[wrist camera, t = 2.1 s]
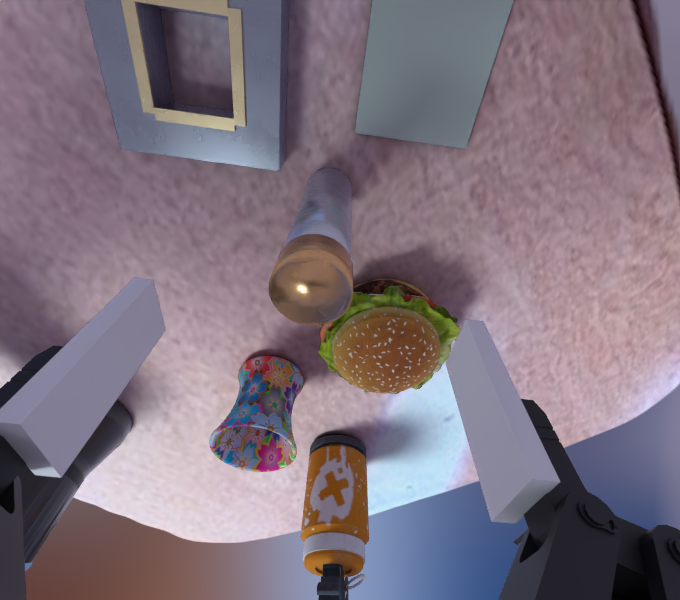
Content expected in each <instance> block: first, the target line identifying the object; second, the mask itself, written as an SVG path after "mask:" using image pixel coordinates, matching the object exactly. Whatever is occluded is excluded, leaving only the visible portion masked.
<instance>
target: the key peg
mask: <svg viewBox="0 0 680 600" xmlns="http://www.w3.org/2000/svg"><path fill="white" fill-rule="evenodd" d="M351 245H352V186H351V183H350V180H349V179H348V177H347V176H346V175H345V174H344V173H343V172H342V171H340V170H338V169H335V168H323V169H320V170H318V171H316V172H315V173H314V174H313V175H312V176H311V178H310V179H309V182H308V184H307V187H306V190H305V193H304V195H303V198H302V201H301V203H300V206H299V209H298V211H297V214H296V217H295V220H294V222H293V225H292V228H291V230H290V233H289V236H288V238H287V241H286V244H285V246H284V247H283V249H282V250H281V252H280V255H279V257H278V260H277V262H276V265H275V268H274V270H273V273H272V276H271V278H270V282H269V294H270V298H271V300H272V302H273V304H274V306H275V307H276V308H277V310H278V311H279V312H280V313H281V314H283V315H284V316H285V317H287V318H288V319H290V320H292V321H295V322H297V323H301V324H305V325H323V324H327V323H330V322H333V321H335V320H337V319H338V318H340V317H341V316H342V315H343V314H345V312H346V311H347V310H348V308H349V307H350V305H351V302H352V299H353V263H352V259H351Z"/></svg>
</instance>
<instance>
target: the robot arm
mask: <svg viewBox="0 0 680 600" xmlns="http://www.w3.org/2000/svg"><path fill="white" fill-rule="evenodd" d="M165 330H166V329H165V325H164V321H163V317H162V313H161V309H160V305H159V301H158V297H157V293H156V289H155V285H154V281H153V280H150V279H142V278H133V279H132V280H131V281H130V282H129V283H128V284H127V285H126V286H125V287H124V288H123V289H122V290H121V291H120V292H119V293H118V294H117V295H116V296H115V297H114V298H113V299H112V300H111V301H110V302H109V303H108V304H107V305H106V306H105V307H104V308H103V309H102V310H101V311H100V312H99V313H98V314H97V315H96V316H95V317H93V318H92V319H91V320H90V321H89V322H88V323H87V324H86V325H85V326H84V327H83V328H82V329H81V330H80V331H79V332H78V333H77V334H76V335H75V336H74V337H73V338H72V339H71V340H70V341H69V342H68V343H67V344H66V345H65V346H64V347H62V346H52V347H51V348H49V349H47V350H45V351H44V352H42V353H40V354H38V355H36V356H35V357H34V358H33V359H32V360H31V361H30V362H29V363H28V364H26V365H25V366H24V367H23V368H22V371H19V372H18V373H17V374H16V375H15V376H13V377H12V378H11V381H10V382H7V383H6V384H5V385H4V386H3V387H2V388H0V600H26V582H25V572H26V570H27V569H29V568H30V566H31V565H32V561H33V559H34V558H35V556H36V555H37V553H38V551H39V550H40V548H41V547H42V545H43V543H44V542H45V540H46V539H47V537H48V535H49V534H50V532H51V531H52V529H53V528H54V526H55V524H56V523H57V521H58V520H59V518H60V517H61V515H62V514H63V512H64V510H65V509H66V507H67V506H68V504H69V502H70V501H71V499H72V498H73V496H74V495H75V493H76V491H77V490H78V488H79V487H80V485H81V484H82V482H83V481H84V479H85V478H86V476H87V475H88V474H89V473H90V472H91V471H92V470H93V469H94V468H96V467H97V466H98V465H99V464H100V463H101V462H102V461H103V460H104V459H105V458H106V457H107V456H108V455H109V454H111V453H112V452H113V451H114V450H115V449H116V448H117V447H118V446H119V445H120V444H121V443H122V442H123V441H124V439H125V437H126V436H127V434H128V433H129V431H130V429H131V427H132V420H131V417H130V415H129V413H128V411H127V410H126V409H125V408H124V407H123V406H122V405H121V404H120V403H119V402H118V401H117V398H118V397H119V396H120V394H121V393H122V391H123V390H124V388H125V387H126V386H127V384H128V383H129V381H130V380H131V379H132V377H133V376H134V374H135V373H136V371H137V370H138V369H139V367H140V366H141V364H142V363H143V362H144V360H145V359H146V357H147V356H148V355H149V353H150V352H151V350H152V349H153V347H154V346H155V345H156V343H157V342H158V340H159V339H160V338H161V336H162V335H163V333H164V332H165ZM446 367H447V370H448V373H449V377H450V380H451V384H452V387H453V391H454V394H455V398H456V401H457V404H458V408H459V411H460V415H461V418H462V422H463V425H464V429H465V432H466V436H467V439H468V442H469V446H470V449H471V453H472V456H473V460H474V463H475V467H476V470H477V473H478V477H479V480H480V483H481V487H482V491H483V494H484V498H485V501H486V505H487V508H488V511H489V515H490V518H491V521H494V522H504V523H516V522H517V521H518V520H520V519H521V518H522V517H523V516H524V517H525V520H526V522H527V525H528V528H527V529H526V530H525V531H524V532H523V533H522V534H520V535H519V536H518V537H517V538H516V540H515V541H514V543H515V544H517V545H518V544H519V543H520V542H521V543H520V545H519V548H518V551H517V553H516V556H515V559H514V561H513V564H512V567H511V569H510V571H509V574H508V577H507V579H506V582H505V584H504V587H503V590H502V592H501V595H500V597H499V600H680V530H678V529H676V528H673V527H670V526H668V525H658V526H656V527H654V528H653V529H651V530H647V529H644V528H642V527H640V526H637V525H635V524H633V523H630V522H628V521H626V520H623V519H621V518H618V517H617V516H615V515H614V514H613V512H612V511H611V510H610V509H609V507H608V506H607V505H606V504H605V503H604V502H602V501H601V500H600V499H599V498H598V497H596V496H594V495H592V494H591V493H589V492H587V490H586V489H585V487H584V486H583V484H582V482H581V480H580V478H579V476H578V474H577V473H576V471H575V469H574V467H573V465H572V463H571V461H570V459H569V457H568V456H567V454H566V452H565V450H564V448H563V446H562V444H561V443H560V442H559V438H558V437H557V435H556V433H555V431H553V427H552V425H551V423H550V422H549V420H548V418H547V416H546V414H545V413H544V412H543V411H542V409H541V408H540V407H539V406H538V405H537V404H536V403H535V402H534V401H533V400H525V399H520V397H519V394H518V392H517V390H516V388H515V386H514V384H513V382H512V380H511V378H510V376H509V374H508V372H507V369H506V367H505V365H504V363H503V361H502V359H501V357H500V355H499V353H498V351H497V349H496V347H495V344H494V342H493V340H492V338H491V336H490V334H489V332H488V330H487V328H486V326H485V324H484V322H483V321H478V320H470V319H465V322H464V324H463V326H462V328H461V331H460V333H459V335H458V337H457V339H456V342H455V344H454V346H453V348H452V350H451V353H450V355H449V357H448V359H447V361H446Z"/></svg>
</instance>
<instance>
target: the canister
mask: <svg viewBox="0 0 680 600" xmlns="http://www.w3.org/2000/svg"><path fill="white" fill-rule="evenodd" d="M301 538H302V540H303V541H304V551H303V561H304V565H305V567H306V569H307V570H308V571H310V572H311V573H313V574H316V575H319V576H321V582H319V583H318V585H317V595H319V600H348V589H351V588H354V587H356V586H358V585H359V584H360V583H362V582H363V581H364V579H365V575H364V574H361V575H358V576H356V577H354V578H352V579H351V580H350V581H348V577H350V576H354V575H356V574H358V573H359V572H360V571H361V570H362V569H363V565H364V563H365V544H366V543H367V542H368V540H369V528H368V496H367V466H366V448H365V446H364V445H363V444H362V443H361V442H360V441H358V440H356V439H354V438H352V437H348V436H342V435H331V436H325V437H322V438H319V439H317V440H316V441H315V442H313V444H312V445H311V447H310V457H309V465H308V474H307V483H306V492H305V501H304V510H303V519H302V529H301ZM344 577H346V578H345V581H344ZM359 577H363V579H362V580H361V581H359V582H358V583H357V584H355V585H353V586H350V587H348V585H349V584H350V583H351V582H352V581H354V580H355V579H357V578H359ZM346 591H347V594H346V599H345V592H346Z"/></svg>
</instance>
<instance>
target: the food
mask: <svg viewBox="0 0 680 600" xmlns="http://www.w3.org/2000/svg"><path fill="white" fill-rule="evenodd" d="M457 321H458V320H457V318H455V317H452V318H451V317H450V315H449V313H448V311H447V310H446V309H445V308H443V307H440V306H436V305H435V304H434V303H433V302H432V301H430V300H429V298H428V297H427V295H425V294H424V293H423V292H422V291H421V290H420V289H419V288H417V287H416V286H414V285H412V284H409V283H406V282H403V281H400V280H397V279H380V278H378V279H375V280H372V281H368V282H365V283H362V284H358V285H355V286H354V287H353V299H352V302H351V305H350V307H349V308H348V310H347V311H346V312H345V314H343V315H342V316H341V317H340V318H338V319H337V320H335V321H333V322H330V323H327V324H323V326H322V328H321V330H320V337H321V342H322V343H321V345H320V347H319V349H320V351H318V353H319V354H320V356H321V357H322V358H323V359H324V360H325V361H326V362H327V366H328V368H329V370H330V371H332V372H335V373H336V372H337V373H338V374H339V375H340V376H341V377H343V378H344V379H345V380H346V381H348V382H349V383H350V384H353V385H354V386H356V387H359V388H361V389H363V390H365V392H376V393H395V394H397V393H399V392H401V391H405V390H406V389H409V388H411V387H413V388H414V389H420V388H421V387H422V385H423V384H425V383H426V382H427V381H428V380H429V379H431V378H432V376H433V374H434V373H435V372H438V371H439V370H440V369H441V366H442V364H443V363H444V362H445V361H446V360H447V359H448V357H449V355H450V352H451V342H452V341H453V340H456V339H457V337H458V334H459V333H460V328H459V326H456V325H455V323H454V322H457Z"/></svg>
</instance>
